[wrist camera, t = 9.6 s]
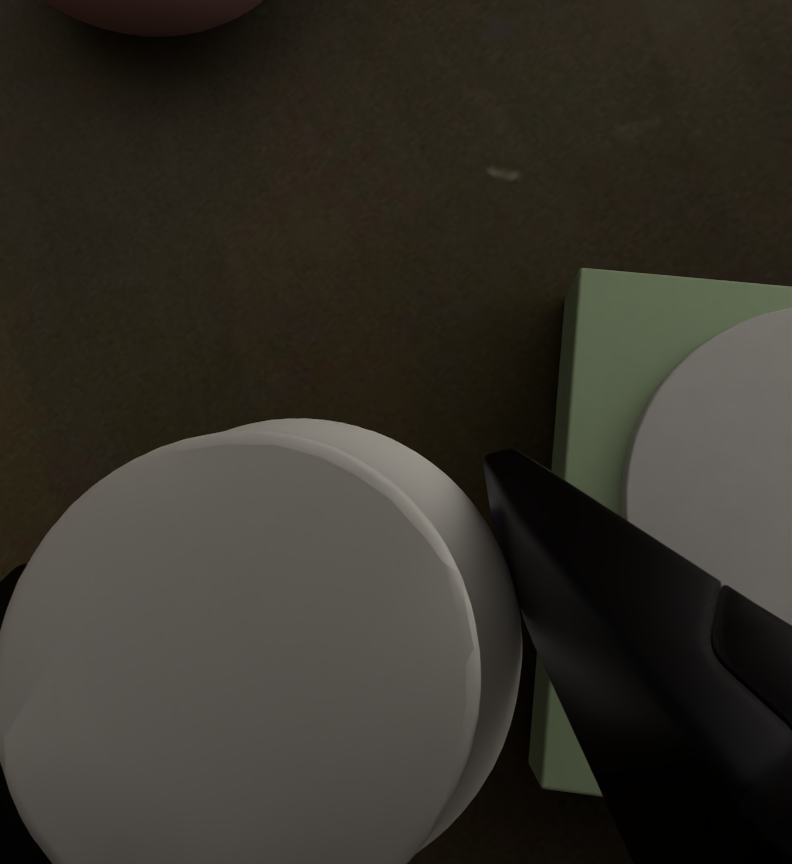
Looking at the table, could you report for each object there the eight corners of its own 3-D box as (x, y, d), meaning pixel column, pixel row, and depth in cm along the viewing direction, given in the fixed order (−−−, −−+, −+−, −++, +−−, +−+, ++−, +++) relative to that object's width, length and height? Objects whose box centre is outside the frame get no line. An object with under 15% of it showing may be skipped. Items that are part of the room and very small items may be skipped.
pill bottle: (423, 796, 15) (413, 1210, 5) (182, 685, 15) (-231, 870, 6) (521, 541, 16) (667, 489, 6) (288, 446, 16) (83, 259, 7)
